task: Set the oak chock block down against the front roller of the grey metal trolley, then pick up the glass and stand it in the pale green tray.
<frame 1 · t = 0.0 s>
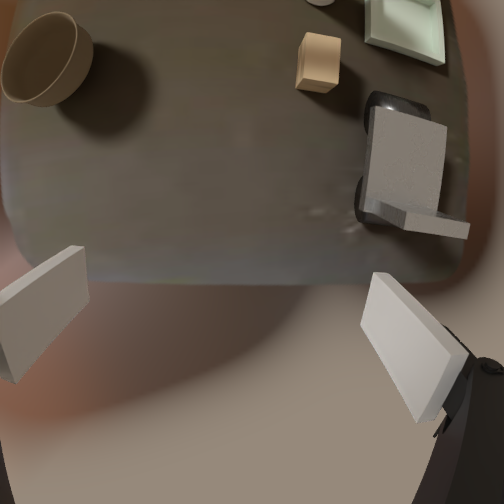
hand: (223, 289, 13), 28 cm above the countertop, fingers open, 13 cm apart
chock: (312, 70, 35), on the countertop
trolley: (383, 163, 39), on the countertop
tray: (402, 20, 32), on the countertop
bowl: (71, 69, 34), on the countertop
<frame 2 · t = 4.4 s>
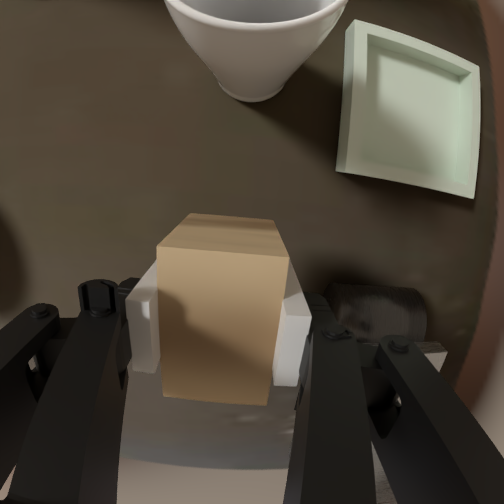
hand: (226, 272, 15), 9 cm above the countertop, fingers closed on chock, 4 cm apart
chock: (227, 275, 16), point 8 cm above the countertop, touching gripper
trolley: (343, 363, 28), on the countertop
tray: (409, 112, 21), on the countertop
drinking glass: (251, 72, 21), on the countertop
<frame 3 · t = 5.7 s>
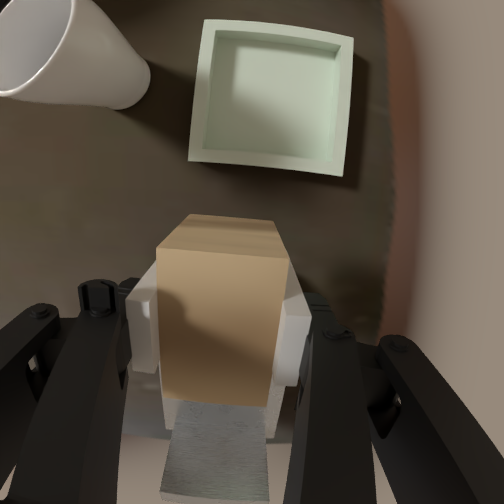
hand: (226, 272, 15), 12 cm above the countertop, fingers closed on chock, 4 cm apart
chock: (226, 276, 16), point 12 cm above the countertop, touching gripper
trolley: (226, 340, 31), on the countertop
tray: (271, 96, 24), on the countertop
drinking glass: (125, 82, 23), on the countertop
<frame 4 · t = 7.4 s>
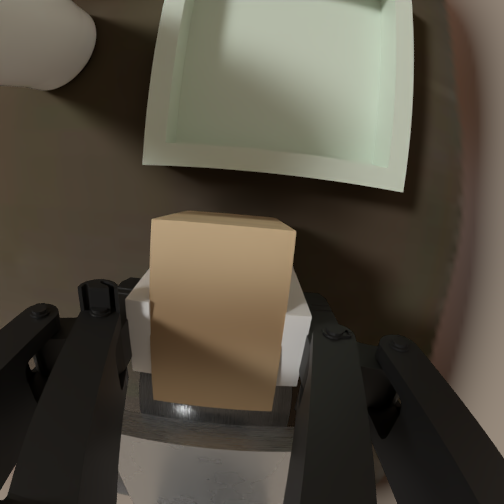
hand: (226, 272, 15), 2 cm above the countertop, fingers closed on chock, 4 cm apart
chock: (226, 277, 15), point 2 cm above the countertop, tilted 8°, touching gripper
trolley: (217, 415, 21), on the countertop
tray: (285, 59, 14), on the countertop
drinking glass: (63, 51, 13), on the countertop
when the fingers open (0 cm above the countertop, at t = 9.1 s): chock stays where it is, on the countertop.
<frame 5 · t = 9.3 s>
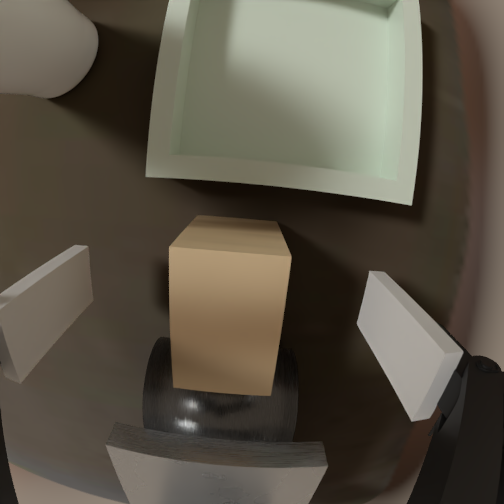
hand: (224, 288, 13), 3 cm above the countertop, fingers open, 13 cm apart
chock: (232, 273, 17), on the countertop
trolley: (221, 427, 20), on the countertop
tray: (291, 68, 14), on the countertop
drinking glass: (65, 58, 13), on the countertop
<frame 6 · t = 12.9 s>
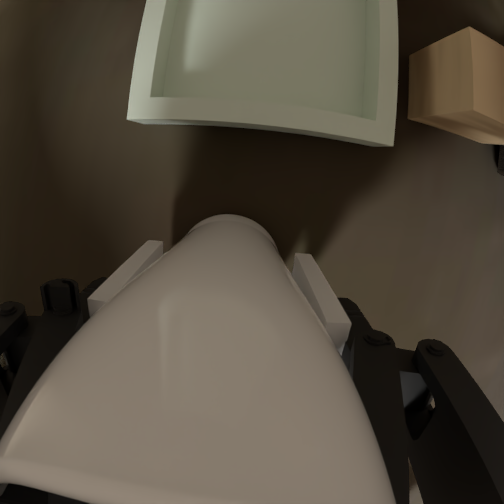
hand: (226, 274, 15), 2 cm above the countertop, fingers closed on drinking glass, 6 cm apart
chock: (449, 100, 14), on the countertop
tray: (271, 24, 13), on the countertop
drinking glass: (229, 259, 17), on the countertop, touching gripper
when the fingers open (4 cm above the countertop, at t = 17.9 s): drinking glass drops 1 cm, resting on tray.
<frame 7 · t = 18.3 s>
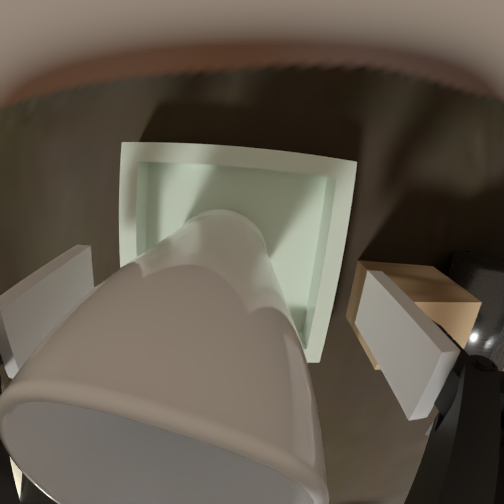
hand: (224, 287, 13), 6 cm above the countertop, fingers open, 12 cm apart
chock: (390, 290, 20), on the countertop
trolley: (500, 295, 20), on the countertop
tray: (230, 249, 19), on the countertop
drinking glass: (221, 251, 18), resting on tray
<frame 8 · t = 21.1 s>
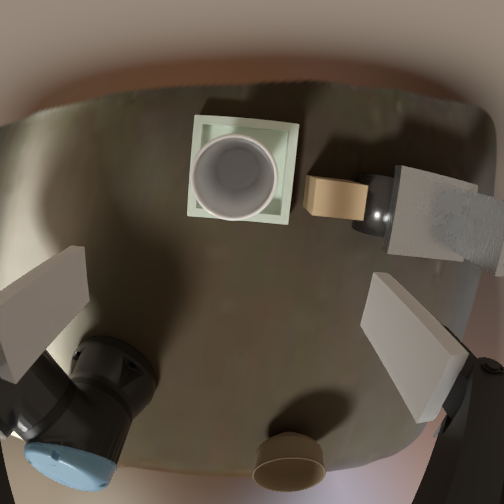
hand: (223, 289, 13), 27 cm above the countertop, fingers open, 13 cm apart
chock: (327, 193, 39), on the countertop
trolley: (408, 206, 39), on the countertop
tray: (242, 168, 38), on the countertop
bowl: (284, 437, 52), on the countertop
drinking glass: (238, 168, 37), resting on tray
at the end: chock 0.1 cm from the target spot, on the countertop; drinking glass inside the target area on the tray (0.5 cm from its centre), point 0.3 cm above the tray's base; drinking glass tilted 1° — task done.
